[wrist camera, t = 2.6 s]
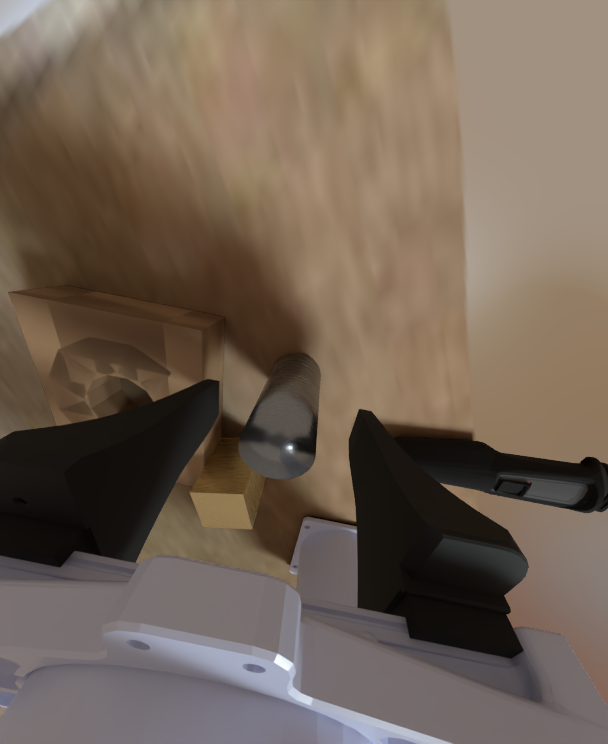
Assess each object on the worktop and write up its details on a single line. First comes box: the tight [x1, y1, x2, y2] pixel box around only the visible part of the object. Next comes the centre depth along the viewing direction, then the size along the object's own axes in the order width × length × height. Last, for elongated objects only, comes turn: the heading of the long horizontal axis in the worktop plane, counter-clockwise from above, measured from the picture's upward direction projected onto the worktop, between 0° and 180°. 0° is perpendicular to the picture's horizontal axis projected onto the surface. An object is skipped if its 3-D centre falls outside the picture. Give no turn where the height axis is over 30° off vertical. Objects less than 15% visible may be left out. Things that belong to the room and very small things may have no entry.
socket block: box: [8, 285, 225, 486], centre depth 16 cm, size 12×10×3 cm
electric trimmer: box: [394, 438, 608, 513], centre depth 17 cm, size 4×16×3 cm, turn 83°
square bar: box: [190, 437, 267, 529], centre depth 18 cm, size 3×3×5 cm
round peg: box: [238, 353, 321, 479], centre depth 13 cm, size 3×3×7 cm
